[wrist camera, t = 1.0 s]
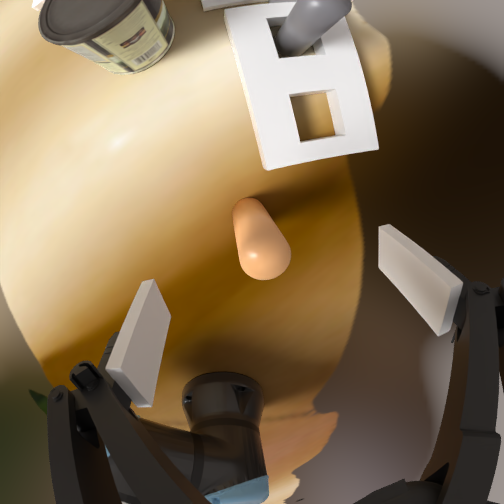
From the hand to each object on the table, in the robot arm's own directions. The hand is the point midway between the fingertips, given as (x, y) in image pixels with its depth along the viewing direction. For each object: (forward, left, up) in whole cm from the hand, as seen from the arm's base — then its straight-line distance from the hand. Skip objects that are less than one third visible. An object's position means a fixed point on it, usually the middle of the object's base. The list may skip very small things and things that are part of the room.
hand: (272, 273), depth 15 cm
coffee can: (+24, +8, -19) cm, 32 cm away
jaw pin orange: (-2, 0, -19) cm, 19 cm away
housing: (+13, -10, -19) cm, 25 cm away
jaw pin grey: (+18, -10, -19) cm, 28 cm away
